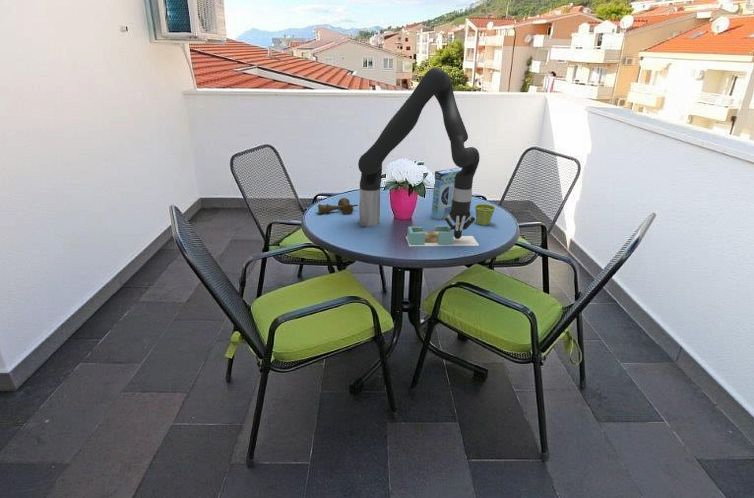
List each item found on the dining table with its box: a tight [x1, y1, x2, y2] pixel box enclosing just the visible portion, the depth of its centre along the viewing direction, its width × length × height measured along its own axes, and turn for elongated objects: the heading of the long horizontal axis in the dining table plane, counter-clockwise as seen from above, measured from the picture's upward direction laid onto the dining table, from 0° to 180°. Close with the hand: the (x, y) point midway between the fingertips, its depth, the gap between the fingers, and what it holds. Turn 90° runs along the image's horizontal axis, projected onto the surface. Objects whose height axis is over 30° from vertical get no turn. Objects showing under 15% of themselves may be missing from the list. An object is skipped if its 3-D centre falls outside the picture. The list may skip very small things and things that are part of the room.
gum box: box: [430, 167, 462, 220], centre depth 200 cm, size 20×5×23 cm, turn 123°
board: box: [405, 235, 480, 247], centre depth 173 cm, size 29×10×1 cm, turn 94°
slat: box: [424, 231, 445, 243], centre depth 171 cm, size 13×4×4 cm, turn 94°
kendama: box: [317, 197, 359, 216], centre depth 204 cm, size 6×10×20 cm
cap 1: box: [407, 226, 426, 245], centre depth 171 cm, size 6×8×5 cm
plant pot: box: [474, 203, 496, 226], centre depth 192 cm, size 9×9×9 cm
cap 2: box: [434, 224, 454, 244], centre depth 171 cm, size 6×8×5 cm
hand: (457, 238), depth 173 cm, fingers closed
